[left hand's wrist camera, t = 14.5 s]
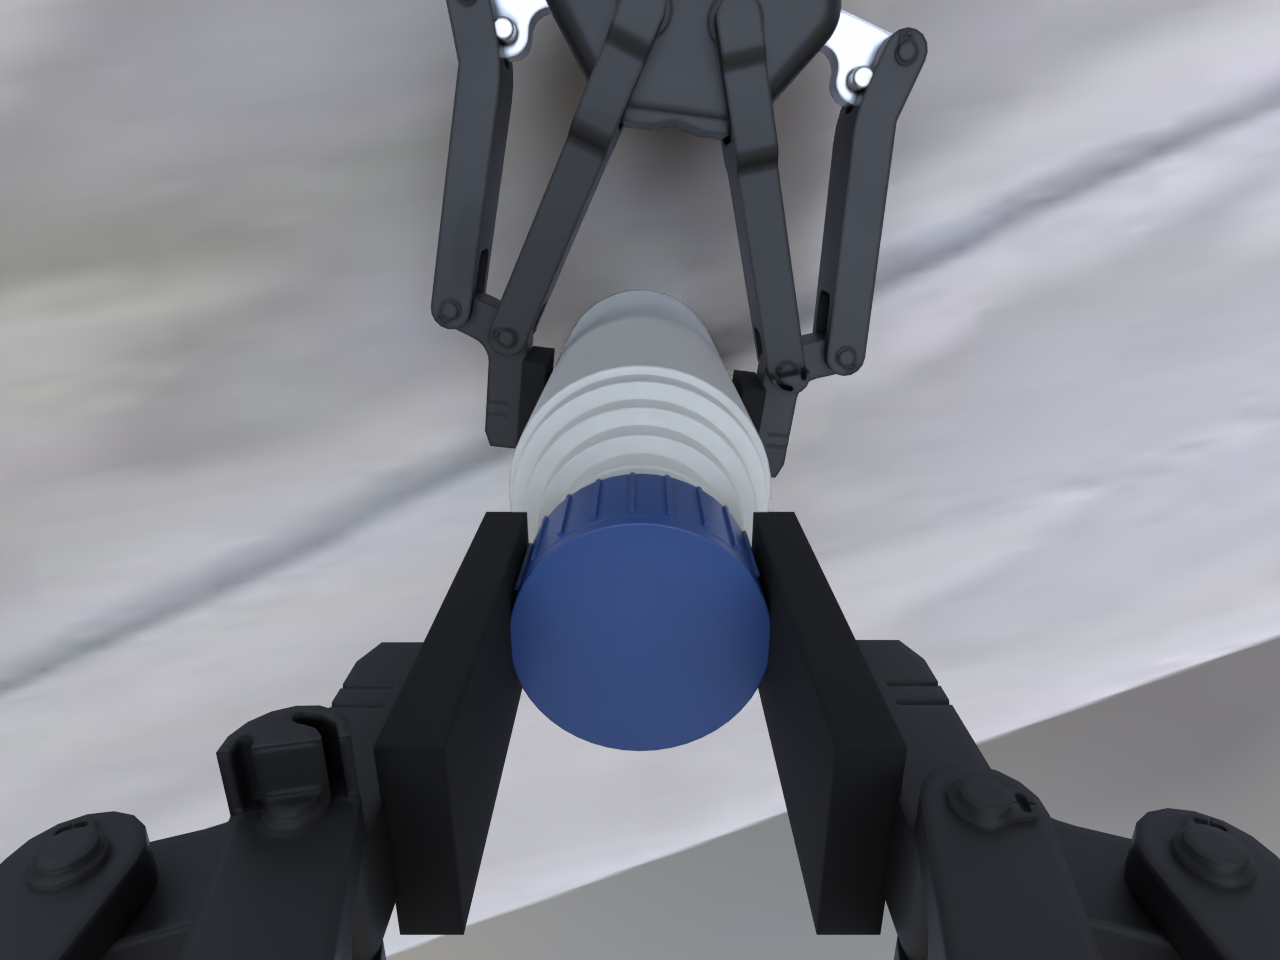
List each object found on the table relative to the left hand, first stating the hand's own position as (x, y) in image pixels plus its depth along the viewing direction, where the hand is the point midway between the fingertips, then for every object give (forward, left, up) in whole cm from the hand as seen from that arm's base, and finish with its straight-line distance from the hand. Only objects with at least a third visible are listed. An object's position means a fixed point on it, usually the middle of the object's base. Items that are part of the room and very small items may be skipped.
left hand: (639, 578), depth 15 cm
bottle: (0, 0, -19) cm, 19 cm away
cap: (0, 0, +2) cm, 2 cm away
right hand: (+4, -3, -12) cm, 13 cm away
